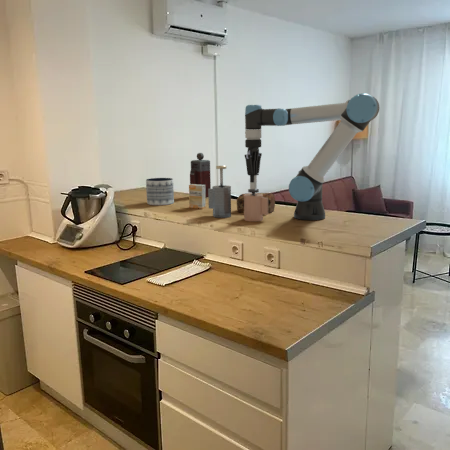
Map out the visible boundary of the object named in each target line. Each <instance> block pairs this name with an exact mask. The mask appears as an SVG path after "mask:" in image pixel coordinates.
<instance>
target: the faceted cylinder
mask: <svg viewBox="0 0 450 450" xmlns="http://www.w3.org/2000/svg"><path fill="white" fill-rule="evenodd" d="M207 198H208V209H211V210H212V217H214V218H218V219H227V218H230V217H232V186H231V185H226V184H225V185H224V184H223V187H220V184H219V185H213V186H212V187H211V189H208V197H207Z"/></svg>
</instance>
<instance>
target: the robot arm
mask: <svg viewBox="0 0 450 450" xmlns="http://www.w3.org/2000/svg"><path fill="white" fill-rule="evenodd" d="M244 110H245V112H244V122H245V127H244V129H245V131H244V134H245V135H244V136H245V140H244V146H245V148H246V149H247V152H246V154H244V159H245V165H246V174H247V176H249V189H258V188H257V187H258V186H257V184H258V183H257V182H258V180H257V177H258V176H259V174H260V168H261V160H262V159H261V158H262V155H263V154H262V153H261V152H260V148H262V139H261V138H262V126H263V127H266V126H268V127H273V126H275V127H283V126H289V125H290V126H291V125H301V124H310V123H312V124H313V123H323V122H334V121H339V123H338V124H337V126H336V127H335V128H334V130H333V131H332V133H330V135H329V136H328V138H327V139H326V141H325V142H324V143H323V145H322V146H321V148H320V149H319V150H318V152H317V153H316V154H315V156H314V157H313V158H312V160H311V161H310V163H309V164H308V165H305V166H303V167H302V168H301V169H300V170H299V171H298V173H297V174H296V176H295V177H293V178H292V179H291V180H290V181H289V184H288V192H289V195H290V197H291V198H292V199H293V200H295V201H297V202H296V206H295V208H294V211H293V217H294V219H297V220H301V221H302V220H303V221H317V220H318V221H319V220H323V219H325V218H326V211H325V208H324V204H323V187H324V186H323V184H324V183H325V180H324V179H325V176H326V175H327V173H328V172H329V170H330V169H331V168H332V166H334V164H335V163H336V162H337V160H338V159H339V157H340V156H341V155H342V153H343V152H344V151H345V149H346V148H347V147H348V145H349V144H350V143H351V141H352V140H353V139H354V138H355V137H356V135H357V134H358V133H361V132H364V130H365V129H366V128H367V127H368V125H369V124H370V123H371V121H374V119H376V118H377V116H378V114H379V112H380V102H379V101H378V99H377V98H375V96H373V95H371V94H369V93H364V92H363V93H357V94H356V95H353V97H351V98H350V99H348V100H346V101H344V102H338V103H330V104H329V103H328V104H321V105H313V106H312V105H311V106H310V105H309V106H302V107H301V106H300V107H294V108H293V107H292V108H282V107H281V108H265V109H264V108H262V105H261V104H248V105H246V106H245V109H244Z"/></svg>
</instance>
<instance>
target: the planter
mask: <svg viewBox="0 0 450 450" xmlns="http://www.w3.org/2000/svg"><path fill="white" fill-rule="evenodd" d="M145 185H146V186H145V187H146V203H147V205H149V206H168V205H172V204H174V203H175V197H174V195H175V193H174V191H175V189H174V178H171V177H155V178H153V177H151V178H146V179H145Z"/></svg>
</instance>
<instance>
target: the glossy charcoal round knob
mask: <svg viewBox="0 0 450 450" xmlns="http://www.w3.org/2000/svg"><path fill="white" fill-rule="evenodd" d="M247 192H248V193H252V196H255V193H260V192H259V189H258V188H257V189H250V188H249V189H247Z"/></svg>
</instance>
